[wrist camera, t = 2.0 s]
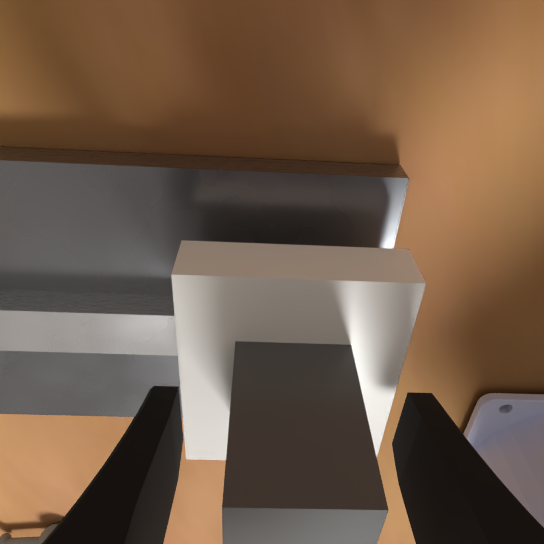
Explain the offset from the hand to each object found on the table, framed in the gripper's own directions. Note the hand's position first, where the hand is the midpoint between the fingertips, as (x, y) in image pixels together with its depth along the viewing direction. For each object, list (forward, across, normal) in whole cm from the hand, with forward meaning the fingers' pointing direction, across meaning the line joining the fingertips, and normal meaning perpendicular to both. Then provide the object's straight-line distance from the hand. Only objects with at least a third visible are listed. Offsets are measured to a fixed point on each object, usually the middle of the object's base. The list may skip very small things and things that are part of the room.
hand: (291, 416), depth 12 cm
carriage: (+3, 0, 0) cm, 3 cm away
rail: (+5, +7, 0) cm, 8 cm away
